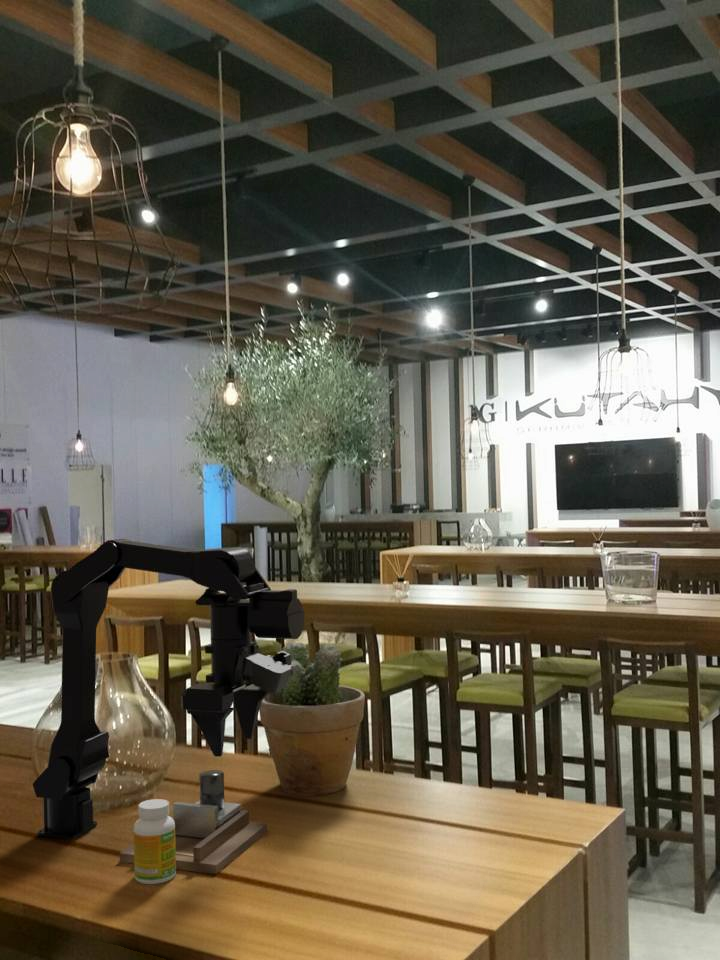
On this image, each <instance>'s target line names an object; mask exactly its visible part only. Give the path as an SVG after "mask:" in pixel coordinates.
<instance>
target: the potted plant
mask: <svg viewBox="0 0 720 960" xmlns="http://www.w3.org/2000/svg"><path fill="white" fill-rule="evenodd" d="M282 651H284V652H286V653H288V654H290V656H291V663H292V665H293V668H292V670H293V675H292V676H290V677H289V678H288V681H287V684H286V687H285V689H284V690H283V689H281V690H280V691H278V693H276V694H271V693H269V694H268V695H267V696H266V697H265V698H264V699H263V700H262V703H261V706H260V709H259V718H260V723H261V724H262V726H263V728H264V732H265V737H266V741H267V746H268V751H269V754H270V755H271V758H272V760H273V763H274V766H275V770H276V773H277V776H278V779H279V784H280V787H281V788H282V790H283V791H284V792H286V793H288V794H292V795H295V796H302V797H303V796H304V797H317V796H326V795H331V794H334V793H337V792H339V791H341V790H342V789H344V788H345V787H346V785H347V783H348V779H349V775H350V772H351V770H352V766H353V761H354V757H355V751H356V747H357V743H358V738H359V731H360V727H361V726H360V725H361V722H362V721H363V719H364V711H365V710H364V709H365V699H366V696H365V693H364V692H363V691H362V690H360V689H358V688H355V687H352V686H345V685H341V684H340V678H341V677H340V675H341V674H340V672H339V670H340V668H341V662H342V661H343V658H341V655H342V653H341V652H340V651H339V648H338V647H337V646H336V645H332V644H331V645H329V644H324V646H319V650H317V652H315V658H314V660H313V662H311V657H310V654H309V651H308V648H307V645H305V643H303V642H297V641H296V642H295V641H294V642H290V643H287V644H285V646H284V647H282Z"/></svg>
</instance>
